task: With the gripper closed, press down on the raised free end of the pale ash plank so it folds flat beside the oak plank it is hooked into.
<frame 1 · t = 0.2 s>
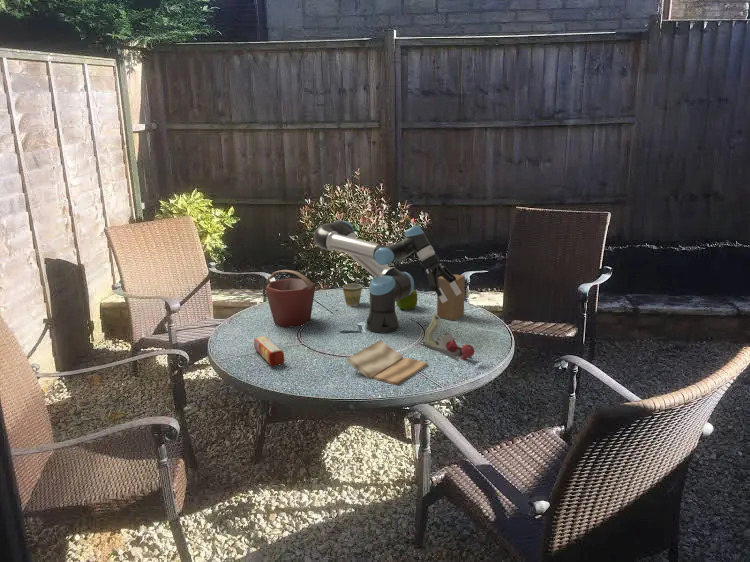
hand: (452, 298, 283), 15 cm above the table, tool tilted 35°, fingers open, 13 cm apart
bucket: (292, 321, 303), on the table
ash plank: (376, 359, 246), point 3 cm above the table, hinge at 25.0°
snack package: (268, 358, 260), on the table
ceramic cup: (354, 304, 329), on the table
hand plane: (447, 354, 261), on the table
apple: (406, 308, 320), on the table
wooden block: (450, 316, 307), on the table
oak plank: (401, 374, 241), on the table
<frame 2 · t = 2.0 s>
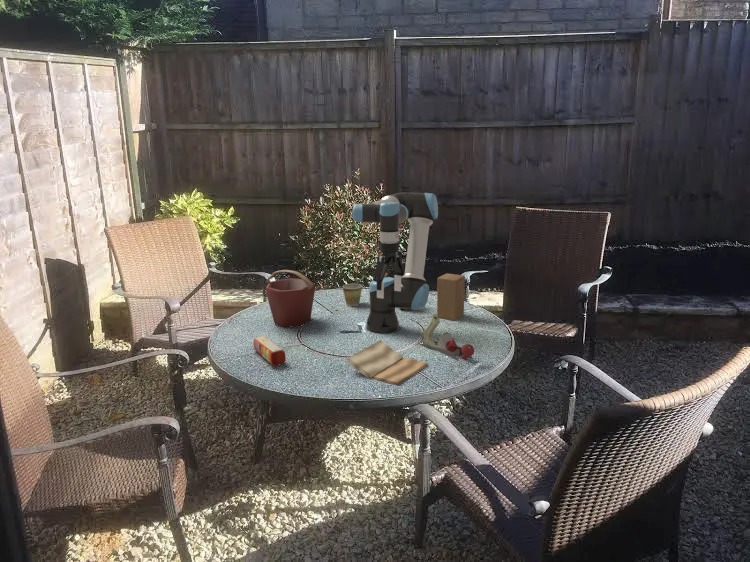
hand: (389, 294, 252), 26 cm above the table, tool pointing down, fingers open, 13 cm apart
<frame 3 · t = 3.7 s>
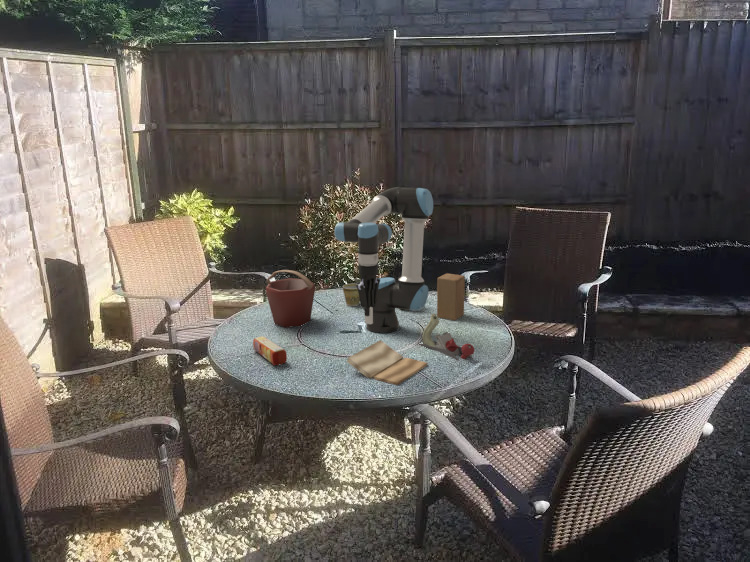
hand: (368, 323, 245), 18 cm above the table, tool pointing down, fingers closed
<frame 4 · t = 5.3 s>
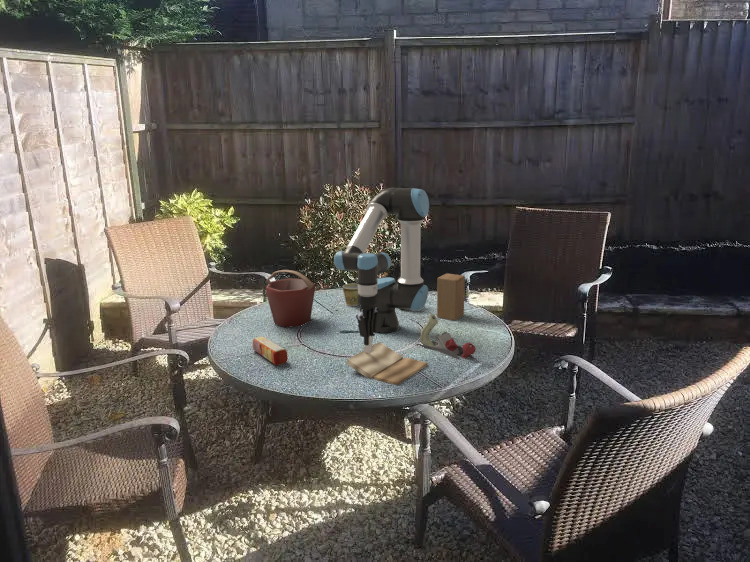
hand: (368, 351, 247), 6 cm above the table, tool pointing down, fingers closed
ash plank: (376, 360, 246), point 3 cm above the table, hinge at 20.4°, touching gripper
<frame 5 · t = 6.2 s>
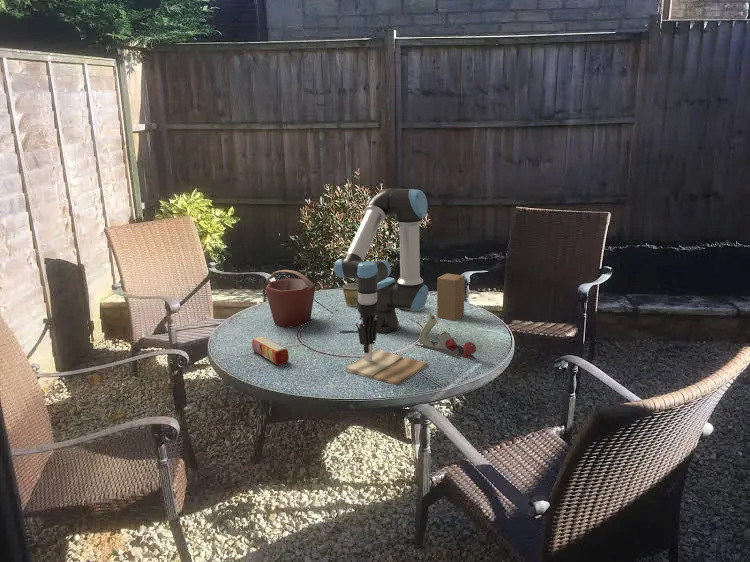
hand: (368, 359, 248), 3 cm above the table, tool pointing down, fingers closed
ash plank: (375, 364, 247), point 1 cm above the table, hinge at 3.7°, touching gripper
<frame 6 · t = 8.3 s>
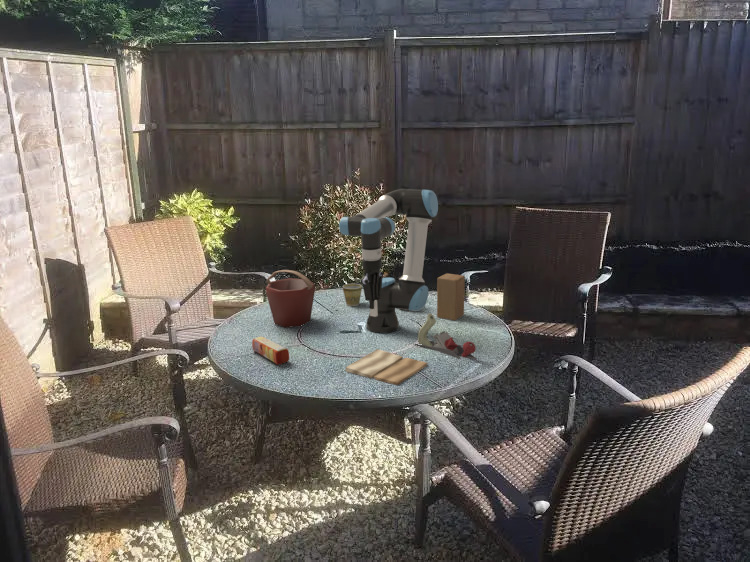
hand: (373, 315, 251), 19 cm above the table, tool pointing down, fingers closed
ash plank: (375, 364, 247), point 1 cm above the table, hinge at 3.6°
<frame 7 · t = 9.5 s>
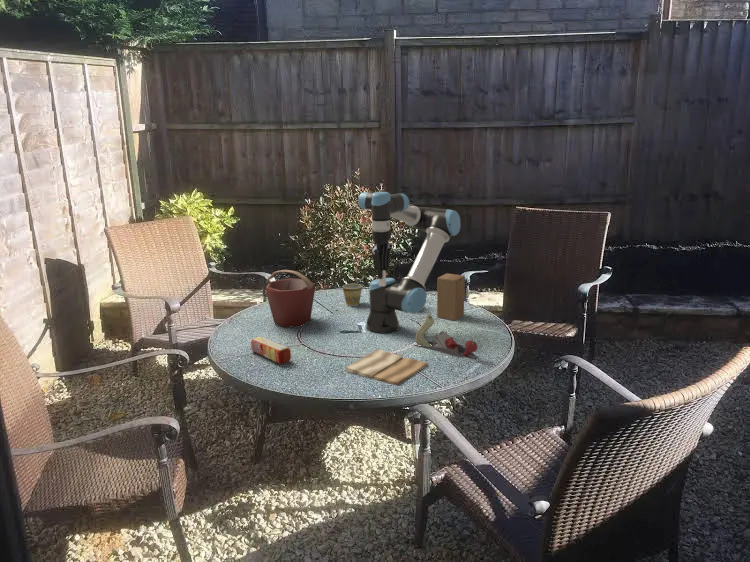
hand: (382, 285, 265), 26 cm above the table, tool pointing down, fingers closed
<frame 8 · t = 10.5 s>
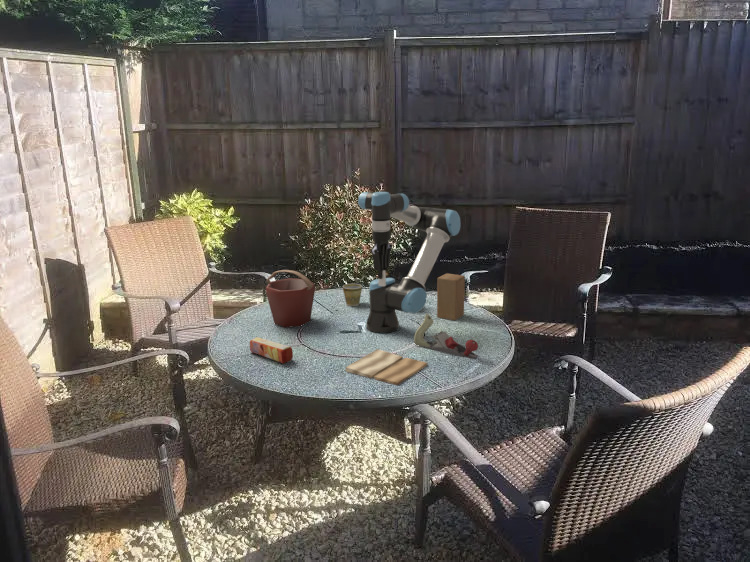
hand: (382, 285, 265), 26 cm above the table, tool pointing down, fingers closed
at the end: ash plank at +4° (first picture: +25°); the gripper is holding nothing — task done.
